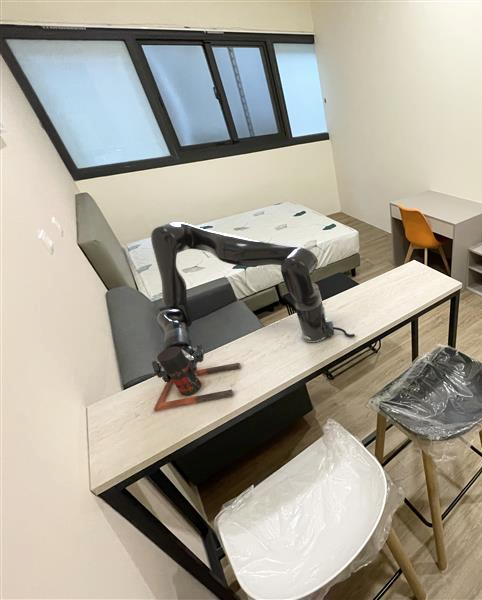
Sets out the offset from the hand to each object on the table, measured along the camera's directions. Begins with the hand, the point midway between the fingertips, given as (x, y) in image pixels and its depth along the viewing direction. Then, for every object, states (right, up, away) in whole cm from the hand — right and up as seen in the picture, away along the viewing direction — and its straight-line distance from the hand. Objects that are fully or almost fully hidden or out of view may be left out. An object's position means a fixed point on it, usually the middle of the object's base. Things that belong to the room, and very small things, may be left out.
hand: (180, 375), depth 94 cm
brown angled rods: (+3, -5, +7) cm, 9 cm away
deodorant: (-1, -6, +6) cm, 9 cm away
